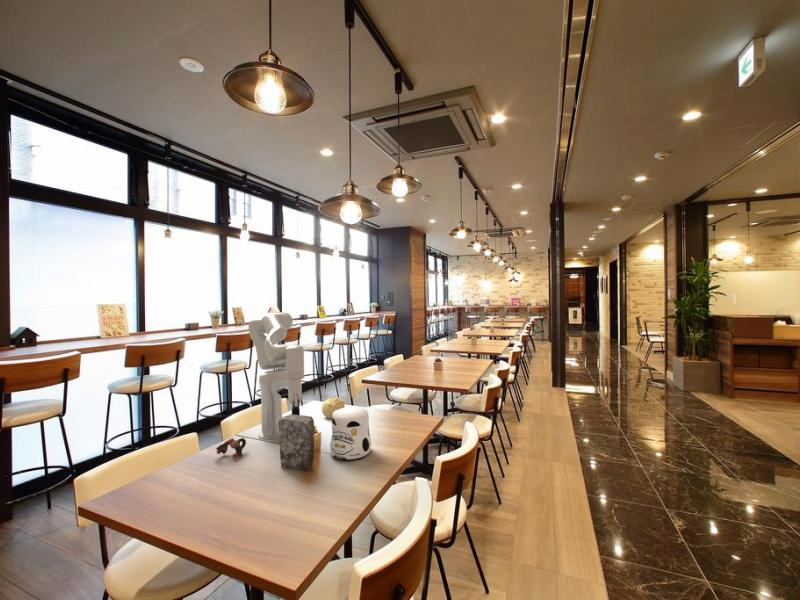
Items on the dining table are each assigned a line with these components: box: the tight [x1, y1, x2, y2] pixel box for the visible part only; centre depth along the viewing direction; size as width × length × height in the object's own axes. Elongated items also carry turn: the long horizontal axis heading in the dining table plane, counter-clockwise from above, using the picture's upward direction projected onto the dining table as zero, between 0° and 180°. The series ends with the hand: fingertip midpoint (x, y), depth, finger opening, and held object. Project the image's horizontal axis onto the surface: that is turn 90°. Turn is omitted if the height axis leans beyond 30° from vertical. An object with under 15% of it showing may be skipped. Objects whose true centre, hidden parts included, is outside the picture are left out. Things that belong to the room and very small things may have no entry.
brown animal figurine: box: [215, 437, 247, 460], centre depth 149 cm, size 12×9×8 cm
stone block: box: [278, 413, 315, 473], centre depth 137 cm, size 13×7×20 cm, turn 75°
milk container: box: [329, 406, 372, 462], centre depth 148 cm, size 17×17×18 cm
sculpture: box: [321, 396, 346, 419], centre depth 197 cm, size 11×12×11 cm
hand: (295, 417), depth 149 cm, fingers closed
